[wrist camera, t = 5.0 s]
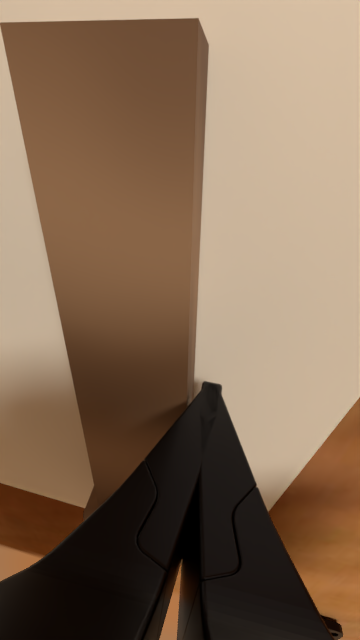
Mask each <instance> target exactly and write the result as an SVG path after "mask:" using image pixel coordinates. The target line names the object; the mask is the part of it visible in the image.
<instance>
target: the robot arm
mask: <svg viewBox="0 0 360 640" xmlns="http://www.w3.org/2000/svg"><path fill="white" fill-rule="evenodd" d="M181 560H182V567H181V583H180V600H179V615H178V630H177V631H178V632H177V640H338V639H340V638H341V637H343V632H342V627H341V625H340V624H338V623H336V622H333V621H329V620H326V619H322V617H321V615H320V613H319V612H318V610H317V608H316V606H315V604H314V602H313V600H312V598H311V596H310V594H309V592H308V591H307V589H306V587H305V585H304V583H303V581H302V579H301V577H300V575H299V573H298V571H297V570H296V568H295V566H294V564H293V562H292V560H291V558H290V556H289V554H288V552H287V550H286V549H285V547H284V545H283V543H282V540H281V538H280V536H279V534H278V532H277V530H276V528H275V526H274V524H273V522H272V520H271V517H270V515H269V513H268V510H267V508H266V506H265V503H264V501H263V498H262V496H261V493H260V491H259V488H258V487H257V483H256V481H255V478H254V476H253V473H252V471H251V468H250V466H249V463H248V460H247V458H246V455H245V453H244V450H243V448H242V445H241V443H240V440H239V438H238V435H237V432H236V430H235V427H234V425H233V422H232V420H231V417H230V415H229V412H228V409H227V407H226V404H225V402H224V399H223V397H222V385H221V384H218V383H213V382H208V381H203V383H202V387H201V391H200V392H199V393H198V394H197V396H196V397H195V398H194V399H193V400H192V402H191V403H190V404H189V405H188V406H187V408H186V409H185V410H184V411H183V412H182V414H181V415H180V416H179V417H178V418H177V420H176V421H175V422H174V423H173V425H172V426H171V427H170V428H169V429H168V431H167V432H166V433H165V434H164V435H163V437H162V438H161V439H160V440H159V441H158V443H157V444H156V445H155V446H154V447H153V449H152V450H151V451H150V452H149V453H148V455H147V456H146V457H145V458H144V460H143V461H142V462H141V463H140V464H139V465H138V466H137V468H136V469H135V470H134V471H133V472H132V474H131V475H130V476H129V477H128V478H127V479H126V480H125V481H124V483H123V484H122V485H121V486H120V487H119V488H118V489H117V490H116V491H115V492H114V493H113V494H112V495H111V496H110V497H109V498H108V499H107V500H106V501H105V502H104V503H103V504H102V505H101V506H100V507H99V508H97V509H96V510H95V511H94V512H93V513H92V514H91V515H90V516H89V517H88V518H87V519H86V520H85V521H84V522H82V523H81V524H80V525H79V526H78V527H77V528H76V529H75V530H74V531H73V532H72V533H71V534H70V535H69V536H67V537H66V538H65V539H64V540H63V541H62V542H61V543H60V544H59V545H58V546H57V547H55V548H54V549H53V550H52V551H51V552H50V553H48V554H47V555H46V556H45V557H43V558H42V559H41V560H39V561H38V562H36V563H35V564H33V565H31V566H30V567H29V568H26V569H24V570H23V571H21V572H18V573H16V574H14V575H12V576H10V577H8V578H7V579H4V580H2V581H1V582H0V640H159V638H160V635H161V631H162V627H163V624H164V620H165V617H166V613H167V609H168V606H169V603H170V599H171V596H172V592H173V589H174V585H175V582H176V578H177V574H178V571H179V567H180V564H181Z"/></svg>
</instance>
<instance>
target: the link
mask: <svg viewBox="0 0 360 640" xmlns="http://www.w3.org/2000/svg"><path fill="white" fill-rule="evenodd" d="M0 27H1V32H2V37H3V42H4V47H5V52H6V57H7V61H8V66H9V71H10V76H11V81H12V86H13V91H14V96H15V101H16V105H17V110H18V115H19V120H20V125H21V130H22V135H23V140H24V145H25V149H26V154H27V159H28V164H29V169H30V174H31V179H32V184H33V189H34V193H35V198H36V203H37V208H38V213H39V218H40V223H41V228H42V233H43V238H44V242H45V247H46V252H47V257H48V262H49V267H50V272H51V277H52V282H53V286H54V291H55V296H56V301H57V306H58V311H59V316H60V321H61V326H62V330H63V335H64V340H65V345H66V350H67V355H68V360H69V365H70V370H71V374H72V379H73V384H74V389H75V394H76V399H77V404H78V409H79V414H80V419H81V423H82V428H83V433H84V438H85V443H86V448H87V453H88V458H89V463H90V467H91V472H92V477H93V482H94V487H93V490H92V492H91V495H90V497H89V500H88V502H87V505H86V507H85V510H84V514H83V518H84V521H85V520H86V519H87V518H88V517H89V516H90V515H91V514H92V513H93V512H94V511H95V510H96V509H97V508H99V507H100V506H101V505H102V504H103V503H104V502H105V501H106V500H107V499H108V498H109V497H110V496H111V495H112V494H113V493H114V492H115V491H116V490H117V489H118V488H119V487H120V486H121V485H122V484H123V483H124V481H125V480H126V479H127V478H128V477H129V476H130V475H131V474H132V472H133V471H134V470H135V469H136V468H137V466H138V465H139V464H140V463H141V462H142V461H143V460H144V458H145V457H146V456H147V455H148V453H149V452H150V451H151V450H152V449H153V447H154V446H155V445H156V444H157V443H158V441H159V440H160V439H161V438H162V437H163V435H164V434H165V433H166V432H167V431H168V429H169V428H170V427H171V426H172V425H173V423H174V422H175V421H176V420H177V418H178V417H179V416H180V415H181V414H182V412H183V411H184V410H185V409H186V408H187V406H188V405H189V404H190V403H191V402H192V400H193V394H194V371H195V348H196V326H197V303H198V280H199V258H200V235H201V212H202V190H203V167H204V144H205V122H206V99H207V76H208V54H209V44H208V41H207V39H206V36H205V34H204V31H203V28H202V26H201V23H200V21H199V18H182V19H137V20H91V21H46V22H1V23H0Z"/></svg>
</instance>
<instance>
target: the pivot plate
mask: <svg viewBox="0 0 360 640" xmlns="http://www.w3.org/2000/svg"><path fill="white" fill-rule="evenodd" d="M182 18H199V21H200V23H201V26H202V28H203V31H204V34H205V36H206V39H207V41H208V44H209V54H208V76H207V99H206V122H205V144H204V167H203V190H202V212H201V235H200V258H199V280H198V303H197V326H196V348H195V371H194V394H193V399H194V398H195V397H196V396H197V394H198V393H199V392H200V391H201V387H202V383H203V381H208V382H213V383H218V384H221V385H222V397H223V399H224V402H225V404H226V407H227V409H228V412H229V415H230V417H231V420H232V422H233V425H234V427H235V430H236V432H237V435H238V438H239V440H240V443H241V445H242V448H243V450H244V453H245V455H246V458H247V460H248V463H249V466H250V468H251V471H252V473H253V476H254V478H255V481H256V483H257V487H258V488H259V491H260V493H261V496H262V498H263V501H264V503H265V506H266V508H267V510H268V512H269V510H270V509H271V508H272V507H273V505H274V504H275V503H276V502H277V500H278V499H279V498H280V497H281V495H282V494H283V493H284V492H285V490H286V489H287V488H288V487H289V485H290V484H291V483H292V481H293V480H294V479H295V478H296V476H297V475H298V474H299V473H300V471H301V470H302V469H303V468H304V466H305V465H306V464H307V463H308V461H309V460H310V459H311V458H312V456H313V455H314V454H315V453H316V451H317V450H318V449H319V448H320V446H321V445H322V444H323V442H324V441H325V440H326V439H327V437H328V436H329V435H330V434H331V432H332V431H333V430H334V429H335V427H336V426H337V425H338V424H339V422H340V421H341V420H342V419H343V417H344V416H345V415H346V414H347V412H348V411H349V410H350V409H351V407H352V406H353V405H354V403H355V402H356V401H357V400H358V398H359V397H360V0H0V23H1V22H46V21H91V20H137V19H182ZM0 483H2V484H5V485H9V486H12V487H15V488H19V489H22V490H25V491H29V492H32V493H35V494H39V495H42V496H45V497H49V498H52V499H55V500H59V501H62V502H65V503H69V504H72V505H75V506H79V507H82V508H85V507H86V505H87V502H88V500H89V497H90V495H91V492H92V490H93V487H94V482H93V477H92V472H91V467H90V463H89V458H88V453H87V448H86V443H85V438H84V433H83V428H82V423H81V419H80V414H79V409H78V404H77V399H76V394H75V389H74V384H73V379H72V374H71V370H70V365H69V360H68V355H67V350H66V345H65V340H64V335H63V330H62V326H61V321H60V316H59V311H58V306H57V301H56V296H55V291H54V286H53V282H52V277H51V272H50V267H49V262H48V257H47V252H46V247H45V242H44V238H43V233H42V228H41V223H40V218H39V213H38V208H37V203H36V198H35V193H34V189H33V184H32V179H31V174H30V169H29V164H28V159H27V154H26V149H25V145H24V140H23V135H22V130H21V125H20V120H19V115H18V110H17V105H16V101H15V96H14V91H13V86H12V81H11V76H10V71H9V66H8V61H7V57H6V52H5V47H4V42H3V37H2V32H1V27H0ZM181 564H182V560H181ZM181 564H180V565H181Z"/></svg>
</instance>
